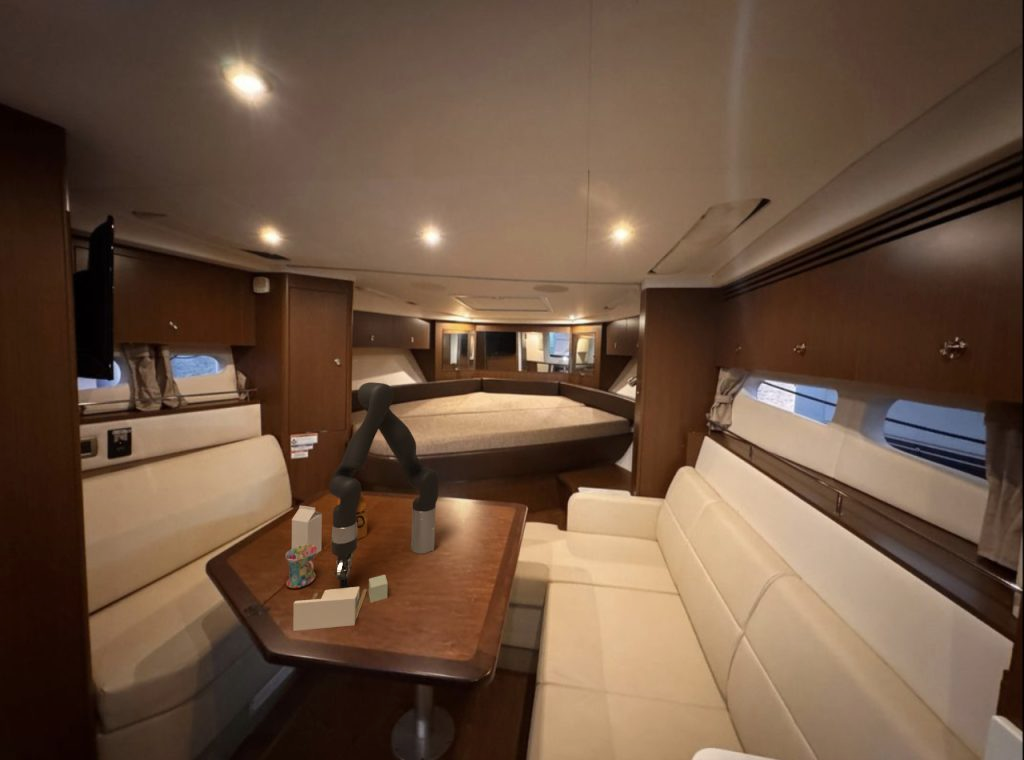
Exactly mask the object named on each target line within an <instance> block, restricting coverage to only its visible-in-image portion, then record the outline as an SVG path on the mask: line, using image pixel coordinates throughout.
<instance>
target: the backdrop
mask: <svg viewBox="0 0 1024 760" xmlns="http://www.w3.org/2000/svg"><path fill="white" fill-rule="evenodd" d="M355 605H356V596H352V597H339V598H327V599H321V598H316V599H314V600H311V599H305V600H303V599H302V600H295V601H294V602H293V621H292V622H293V629H292V630H293V632H295V631H296V632H298V631H308V630H317V629H318V630H319V629H329V628H338V627H340V628H341V627H349V626H350V627H351V626H355V624H356V621H355Z"/></svg>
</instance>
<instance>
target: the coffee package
mask: <svg viewBox="0 0 1024 760" xmlns="http://www.w3.org/2000/svg"><path fill="white" fill-rule="evenodd" d="M365 499H366V498H365V497H364V494H363V492H362V491H361V496H360V500H359V504H358V507H357V541H358V540H361V539H363V538H365V537H367V536H368V521H369V519H368V508H367V502H366V500H365ZM339 504H340V498H338V500H337V502H336V506H337V505H339Z"/></svg>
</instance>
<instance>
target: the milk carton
mask: <svg viewBox="0 0 1024 760" xmlns="http://www.w3.org/2000/svg"><path fill="white" fill-rule="evenodd" d="M322 522H323V514H322V513H321V512H319V511H317V510H316V507H315V506H314V507H313V506H307V505H299V508H298V510H297V511H296V513H295V514H294V516H293V517H292V519H291V549H293V548H295V547H298V546H301V545H314V546H316V547H317V552H316V554H315V556H316V555H317V554H319V553H320V552H321V551H322V542H323V541H322V540H323V539H322V537H323V534H322V531H323V530H322V529H323V528H322V527H323V525H322V524H323V523H322Z"/></svg>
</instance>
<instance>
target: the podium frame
mask: <svg viewBox="0 0 1024 760" xmlns="http://www.w3.org/2000/svg"><path fill="white" fill-rule="evenodd" d="M367 592H368V588H363V590H362V592H361V596H359V602H358V605H357V608H356V610H355V622H357V618H358V616H359V613H360V611H361V607H362V606H363V603H364V601H365V597H366V596H367V595H366V594H367ZM318 595H319V592H314V593H313V595H312V597H311V598H310V600H314V599H317V597H318Z"/></svg>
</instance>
